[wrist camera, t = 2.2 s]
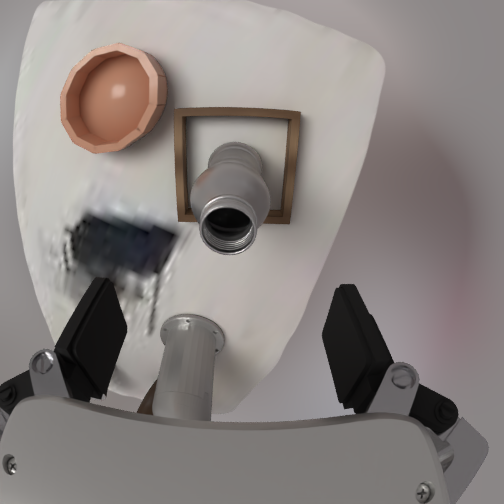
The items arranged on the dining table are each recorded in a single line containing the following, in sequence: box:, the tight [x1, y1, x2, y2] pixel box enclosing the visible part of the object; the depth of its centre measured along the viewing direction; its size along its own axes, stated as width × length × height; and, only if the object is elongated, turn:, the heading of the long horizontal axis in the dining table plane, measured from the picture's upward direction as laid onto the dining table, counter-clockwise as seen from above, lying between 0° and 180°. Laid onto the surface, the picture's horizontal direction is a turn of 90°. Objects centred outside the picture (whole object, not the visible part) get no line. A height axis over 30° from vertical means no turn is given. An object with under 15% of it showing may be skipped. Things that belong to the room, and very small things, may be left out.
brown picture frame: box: [174, 107, 301, 224], centre depth 33 cm, size 15×15×2 cm
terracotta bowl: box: [60, 43, 168, 154], centre depth 27 cm, size 14×14×4 cm
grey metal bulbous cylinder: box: [190, 142, 271, 255], centre depth 26 cm, size 6×7×20 cm
